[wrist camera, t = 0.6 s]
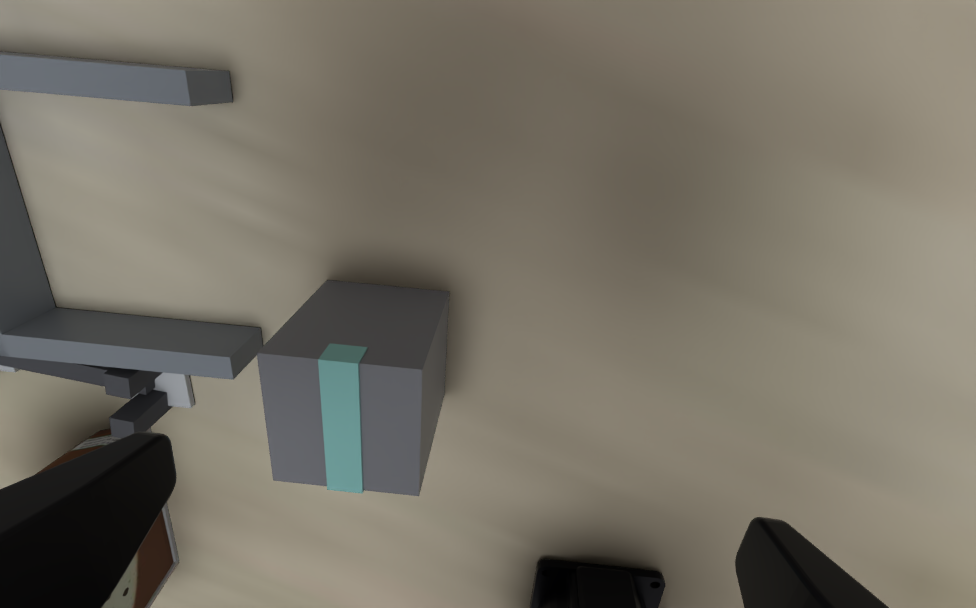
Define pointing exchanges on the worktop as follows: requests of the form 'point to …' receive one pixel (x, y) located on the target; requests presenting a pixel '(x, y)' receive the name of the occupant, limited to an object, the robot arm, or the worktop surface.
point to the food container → (153, 556)
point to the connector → (356, 387)
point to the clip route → (120, 389)
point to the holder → (17, 263)
